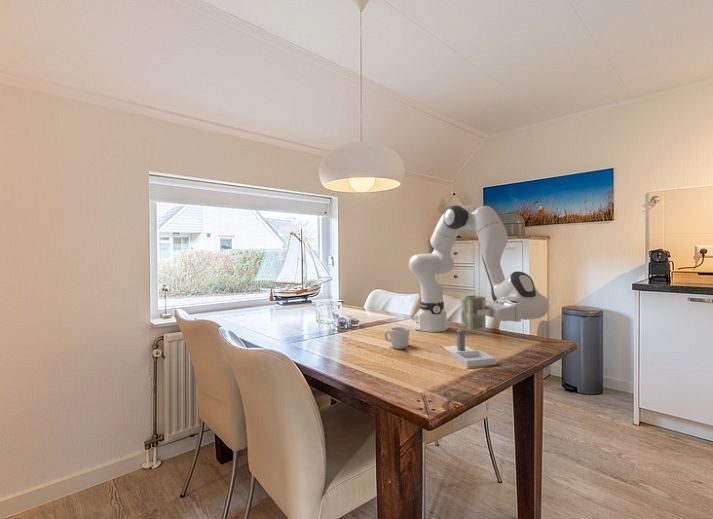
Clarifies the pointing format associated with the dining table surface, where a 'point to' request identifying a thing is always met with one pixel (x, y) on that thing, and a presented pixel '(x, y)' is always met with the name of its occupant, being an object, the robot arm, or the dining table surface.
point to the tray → (474, 358)
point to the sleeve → (472, 312)
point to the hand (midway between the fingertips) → (470, 310)
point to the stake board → (454, 348)
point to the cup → (398, 337)
